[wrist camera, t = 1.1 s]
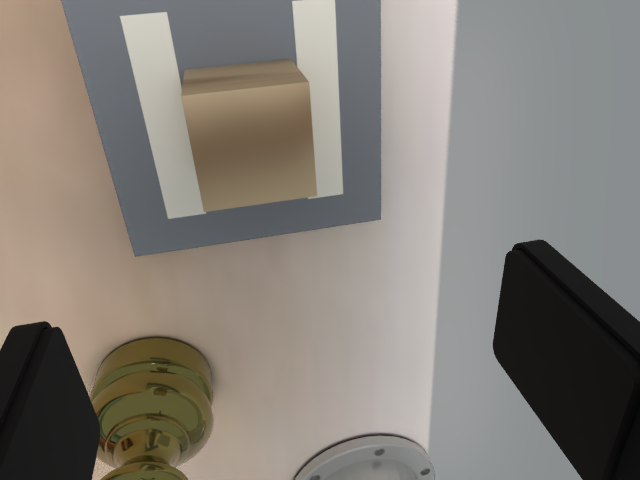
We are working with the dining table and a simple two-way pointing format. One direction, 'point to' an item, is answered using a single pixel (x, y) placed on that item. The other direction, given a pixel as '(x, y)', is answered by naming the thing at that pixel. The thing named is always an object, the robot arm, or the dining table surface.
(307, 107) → the oak block
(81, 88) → the dining table surface
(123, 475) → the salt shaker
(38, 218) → the dining table surface
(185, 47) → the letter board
